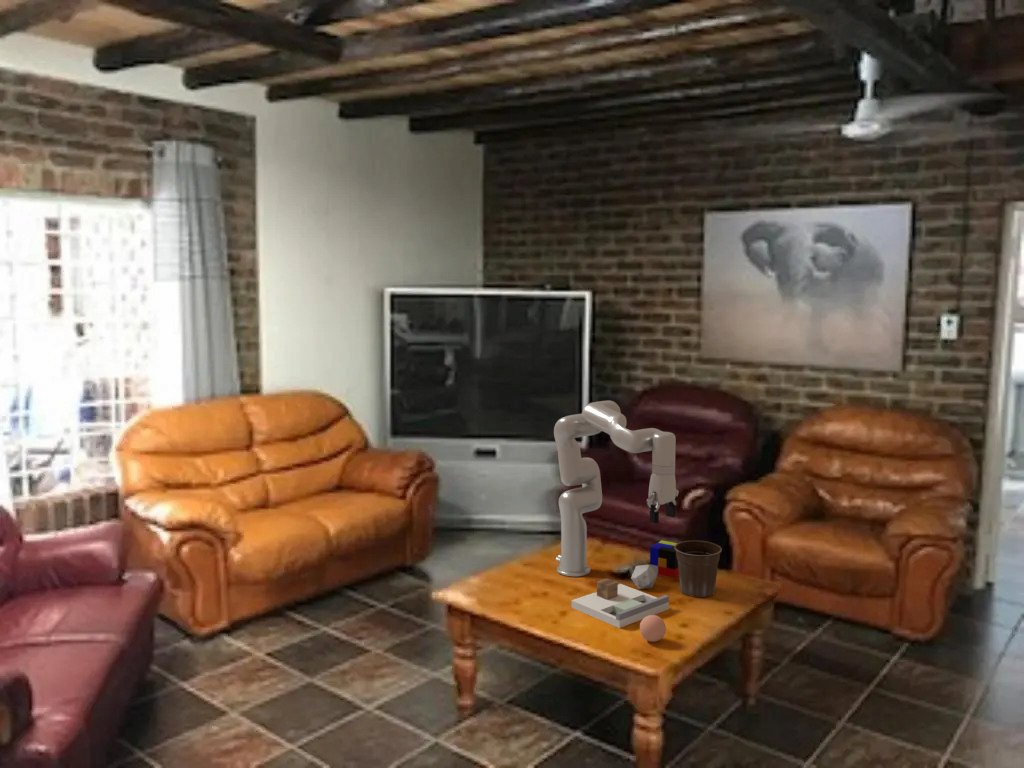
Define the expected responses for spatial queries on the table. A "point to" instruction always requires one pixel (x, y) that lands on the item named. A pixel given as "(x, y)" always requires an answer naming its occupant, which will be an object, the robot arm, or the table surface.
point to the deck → (621, 606)
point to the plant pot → (697, 567)
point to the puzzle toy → (664, 559)
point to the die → (644, 576)
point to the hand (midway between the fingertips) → (662, 519)
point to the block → (607, 589)
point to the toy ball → (652, 628)
